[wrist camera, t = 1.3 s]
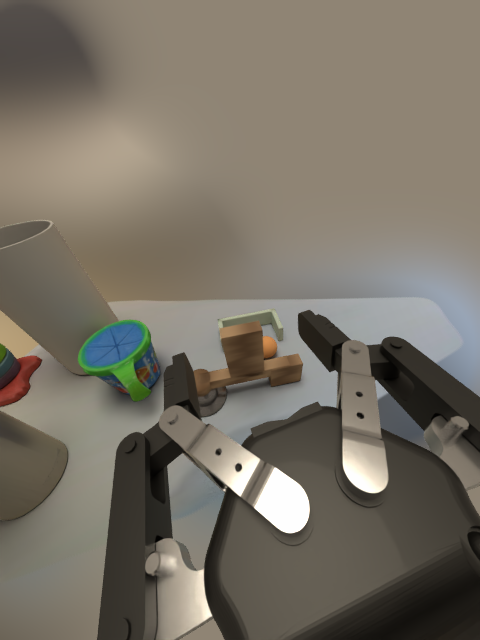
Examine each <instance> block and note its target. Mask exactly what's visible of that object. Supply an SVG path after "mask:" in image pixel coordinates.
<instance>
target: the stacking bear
mask: <svg viewBox="0 0 480 640" xmlns="http://www.w3.org/2000/svg"><path fill="white" fill-rule="evenodd" d="M41 361H42V360H41V359H40V358H39V357H37V356H27V357H22V358H19V359H16V358H15V357H14V355H13V354H12V353H11V352H10V351H9V350H8V349H7V348H5V346H3V345H2V344H0V406H3V405H7V404H10V403H13V402H15V401H17V400H19V399H20V398H22V397H23V396H24V395H25V394H26V393H27V391H28V390H29V388H30V384H29V377H30V376H31V374H32V373H33V372H34V370H36V369H37V368H38V367H39V365H40V363H41Z"/></svg>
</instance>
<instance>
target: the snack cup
mask: <svg viewBox="0 0 480 640" xmlns="http://www.w3.org/2000/svg"><path fill="white" fill-rule="evenodd" d="M78 363H79V365H80V366H81V367H82V368H83V371H84V372H85V373H87V374H89V375H93V376H97V377H99V378H100V379H102V380H103V381H105V382H107V383H108V384H110V385H112V386H113V387H114V388H116V389H118V390H119V391H121V392H123V393H125V394H130V396H131V399H132V400H133V401H135V402H137V401H140V400H143V399H144V398H146V397H147V396H148V395H150V393H151V390H150V389H149V388H150V387H151V386H152V385H153V384H154V383H155V382H156V380H157V379H158V376H159V375H160V366H159V362H158V360H157V357H156V354H155V351H154V348H153V345H152V343H151V334H150V332H149V330H148V328H147V327H146V325H145V324H143V323H142V322H140V321H137V320H123V321H118V322H115V323H112V324H110V325H107V326H105V327H104V328H102V329H100V330H99V331H97V332H96V333H94V334H93V335H92V336H91V337H90V338H88V339H87V341H86V342H85V343H84V344H83V346H82V347H81V349H80V351H79V354H78Z"/></svg>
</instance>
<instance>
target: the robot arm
mask: <svg viewBox="0 0 480 640" xmlns="http://www.w3.org/2000/svg"><path fill="white" fill-rule="evenodd" d="M298 331H299V335H300V337H301V338H302V340H303V341H304V342H305V343H306V344H307V346H308V347H309V348H310V349H311V350H312V352H313V353H314V354H315V355H316V356H317V358H318V359H319V360H320V361H321V362H322V364H323V365H324V366H325V367H326V368H327V370H328V371H329V372H332V371H334V370H336V371H337V372H338V382H337V405H336V408H335V407H329V406H320V404H319V403H318V402H315V403H313V404H310V405H308V406H305V407H303V408H301V409H300V410H298V411H297V412H296V413H295V414H293V415H292V416H291V417H289V418H288V419H286V420H278V421H270V422H266V423H263V424H261V425H258V426H256V427H253V428H251V432H252V434H251V435H250V436H249V437H248V438H247V439H246V440H245V441H244V442H243V444H242V445H239V444H238V443H236V442H235V441H234V440H232V439H231V438H229V437H228V436H226V435H225V434H224V433H222V432H221V431H219V430H218V429H217V428H215V427H214V426H212V425H210V424H207V425H206V424H205V423H203V422H202V419H201V413H200V407H199V400H198V394H197V388H196V382H195V376H194V372H193V369H192V367H191V365H190V363H189V361H188V359H187V357H186V355H185V353H184V352H183V353H181V354H178V355H175V356H173V357H172V359H173V365H171V366H168V367H167V368H166V370H165V372H164V412H163V413H162V415H161V417H160V419H159V422H158V423H157V424H156V425H155V426H153V427H152V428H151V429H149V430H148V431H146V432H145V433H144V434H142V433H139V432H135V433H132V434H130V435H128V436H127V437H125V438H124V439H123V440H122V442H121V443H120V444H119V446H118V448H117V451H116V460H115V470H114V479H113V489H112V499H111V509H110V519H109V529H108V538H107V549H106V558H105V568H104V578H103V588H102V597H101V607H100V618H99V627H98V637H97V640H179V639H181V638H183V637H184V636H186V635H188V634H189V633H191V632H192V631H194V630H196V629H197V628H199V627H200V626H202V625H204V624H205V623H207V622H209V621H210V620H212V619H213V618H214V620H215V621H216V623H217V625H218V627H219V629H220V631H221V633H222V635H223V637H224V639H225V640H480V516H479V514H478V513H477V511H476V510H475V508H474V506H473V504H472V503H471V500H470V498H469V496H468V494H467V492H466V491H468V490H470V489H473V488H476V487H478V486H480V397H479V396H478V395H476V394H475V393H474V392H472V391H471V390H470V389H468V388H467V387H466V386H464V385H463V384H462V383H461V382H459V381H458V380H457V379H455V378H454V377H453V376H451V375H450V374H449V373H447V372H446V371H445V370H443V369H442V368H441V367H440V366H438V365H437V364H436V363H434V362H433V361H432V360H431V359H429V358H428V357H427V356H425V355H424V354H423V353H421V352H420V351H419V350H417V349H416V348H415V347H414V346H412V345H411V344H410V343H408V342H407V341H406V340H404V339H401V338H398V337H387V338H385V339H383V341H382V343H381V344H378V345H365V344H364V343H362V342H360V341H356V340H351V339H349V338H348V337H347V336H346V335H345V334H344V333H343V332H342V331H340V330H339V329H338V328H337V327H335V325H334V324H333V323H331V322H330V321H329V320H328V319H327V318H326V317H324V316H321V315H319V314H318V315H315V314H314V313H313V312H312V311H311V310H307V311H304V312H301V313H299V314H298ZM375 380H377V381H378V382H379V383H380V384H381V385H382V386H383V387H384V388H385V389H386V390H387V392H388V393H389V394H390V395H391V396H392V397H393V398H394V399H395V400H396V401H397V402H398V403H399V404H400V405H401V406H402V407H403V409H404V410H405V411H406V412H407V413H408V414H409V415H410V416H411V417H412V418H413V420H415V422H416V423H417V424H418V425H419V426H420V427H421V428H422V429H423V430H424V439H425V441H426V443H427V444H428V446H429V449H430V451H431V452H430V451H429V450H427V449H425V448H423V447H421V446H418V445H416V444H414V443H412V442H410V441H408V440H405V439H403V438H401V437H399V436H397V435H395V434H392V433H390V432H388V431H386V430H384V429H382V428H380V420H379V411H378V403H377V394H376V386H375ZM182 453H183V454H184V455H185V456H186V457H187V458H188V459H189V460H190V461H191V462H193V463H194V464H195V465H196V466H197V467H198V468H199V469H200V470H201V471H203V472H204V473H205V474H206V475H207V476H208V477H209V478H210V479H211V480H212V481H213V482H214V483H215V484H216V485H217V486H218V487H219V488H220V489H221V490H223V491H224V492H225V495H224V498H223V502H222V505H221V508H220V511H219V514H218V518H217V521H216V524H215V527H214V531H213V534H212V538H211V540H210V544H209V547H208V550H207V554H206V558H205V565H204V569H203V570H201V571H197V570H196V569H195V568H194V566H193V564H192V562H191V560H190V555H189V552H188V549H187V548H186V546H185V545H184V544H182V543H180V542H178V541H175V540H173V537H172V523H171V510H170V497H169V484H168V471H167V465H168V464H169V463H171V462H172V461H173V460H174V459H176V458H177V457H178V456H179V455H180V454H182ZM67 455H68V453H67V448H66V446H65V445H64V444H63V443H62V442H61V441H59V440H57V439H55V438H53V437H51V436H49V435H47V434H45V433H43V432H42V431H40V430H38V429H36V428H34V427H32V426H30V425H28V424H26V423H24V422H22V421H20V420H18V419H16V418H14V417H12V416H10V415H8V414H6V413H4V412H2V411H0V520H12V519H16V518H18V517H20V516H22V515H24V514H26V513H28V512H29V511H31V510H32V509H34V508H35V507H36V506H37V505H38V504H40V503H41V502H42V501H43V500H44V499H45V498H46V497H47V496H48V495H49V494H50V492H51V491H52V490H53V488H54V487H55V486H56V484H57V483H58V481H59V479H60V478H61V476H62V474H63V472H64V469H65V466H66V463H67Z"/></svg>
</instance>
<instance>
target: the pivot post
mask: <svg viewBox="0 0 480 640" xmlns="http://www.w3.org/2000/svg"><path fill="white" fill-rule="evenodd" d="M226 397H227V391H226V387H225V386H224V387H219V388H214V389H212V390H211V391H210V392H209V393H208V394H207V395H205V396H202V397H198V400H199V407H200V413H201V417H206V416H210V415H213V414H214V413H216V412H217V411H219V410H220V409H221V408H222V406H223V405H224V403H225V400H226Z"/></svg>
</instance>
